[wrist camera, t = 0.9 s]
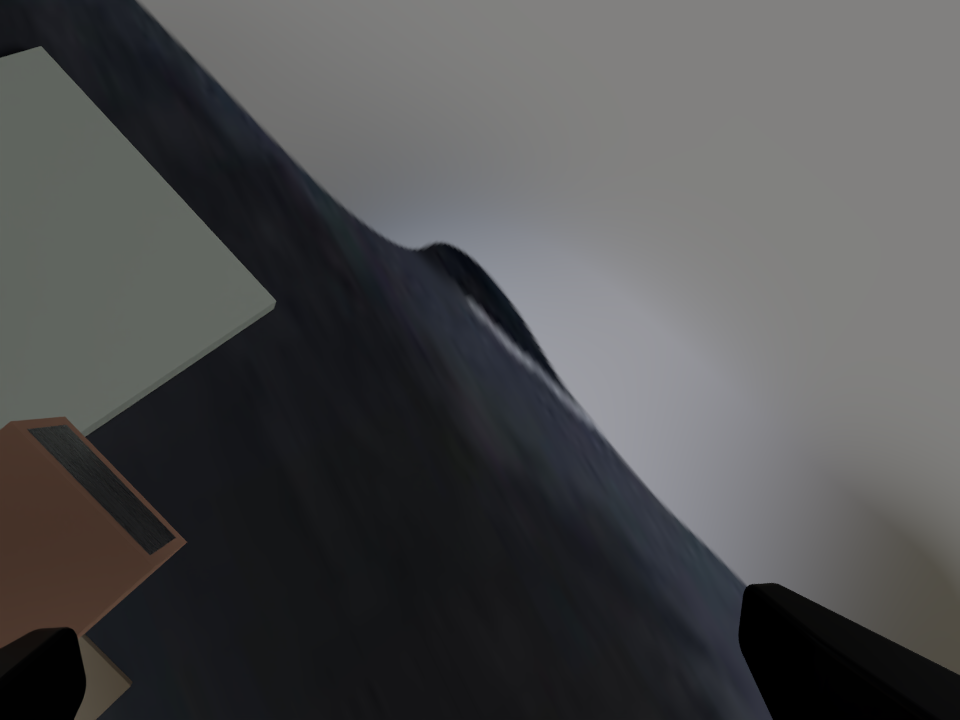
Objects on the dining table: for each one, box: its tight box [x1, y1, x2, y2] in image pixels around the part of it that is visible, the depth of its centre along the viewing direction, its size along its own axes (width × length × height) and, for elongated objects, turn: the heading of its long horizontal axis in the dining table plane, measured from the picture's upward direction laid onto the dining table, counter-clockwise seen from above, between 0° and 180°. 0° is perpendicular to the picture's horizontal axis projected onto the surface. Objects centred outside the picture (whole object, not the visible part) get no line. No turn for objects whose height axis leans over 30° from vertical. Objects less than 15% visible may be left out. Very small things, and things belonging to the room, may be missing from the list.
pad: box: [0, 46, 276, 437], centre depth 20 cm, size 11×13×1 cm
